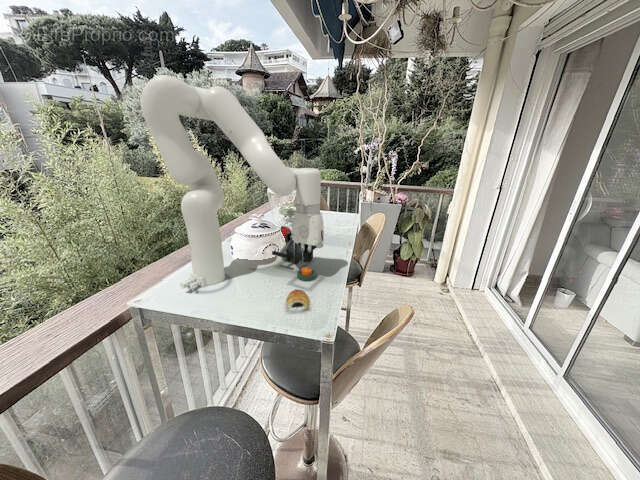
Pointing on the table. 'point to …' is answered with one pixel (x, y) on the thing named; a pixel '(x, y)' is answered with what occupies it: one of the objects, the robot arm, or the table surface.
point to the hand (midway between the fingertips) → (308, 260)
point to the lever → (284, 249)
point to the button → (306, 271)
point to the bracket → (293, 250)
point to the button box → (305, 278)
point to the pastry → (297, 299)
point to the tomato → (285, 231)
